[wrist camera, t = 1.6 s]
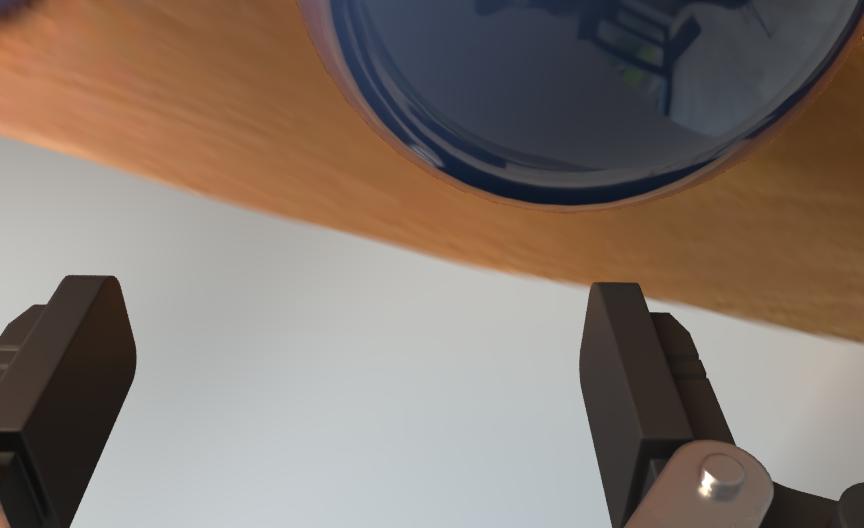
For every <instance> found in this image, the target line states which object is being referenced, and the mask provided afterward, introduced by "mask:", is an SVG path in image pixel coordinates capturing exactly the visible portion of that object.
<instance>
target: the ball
mask: <svg viewBox="0 0 864 528" xmlns="http://www.w3.org/2000/svg"><path fill="white" fill-rule="evenodd" d="M295 1H296V4H297V6H298V9H299V12H300V15H301V18H302V20H303V23H304V26H305V29H306V31H307V34H308V36H309V38H310V40H311V42H312V44H313V46H314V48H315V50H316V52H317V54H318V56H319V58H320V60H321V62H322V64H323V66H324V68H325V70H326V71H327V73H328V74H329V76H330V77H331V79H332V80H333V82H334V83H335V85H336V86H337V88H338V89H339V91H340V92H341V94H342V95H343V97H344V98H345V100H346V101H347V102H348V104H349V105H350V106H351V107H352V108H353V109H354V110H355V112H356V113H357V114H358V115H359V116H360V117H361V118H362V120H363V121H364V122H365V123H366V124H367V125H368V127H369V128H370V129H371V130H372V131H373V132H374V133H376V134H377V135H378V136H379V137H380V138H381V139H382V140H383V141H385V142H386V143H387V144H388V145H389V146H390V147H391V148H392V149H394V150H395V151H396V152H397V153H398V154H399V155H401V156H402V157H404V158H405V159H407V160H408V161H410V162H411V163H413V164H414V165H415V166H417V167H418V168H420V169H421V170H423V171H424V172H426V173H427V174H429V175H431V176H433V177H435V178H436V179H438V180H440V181H442V182H444V183H446V184H448V185H450V186H452V187H454V188H456V189H458V190H460V191H463V192H465V193H468V194H471V195H474V196H477V197H479V198H482V199H485V200H488V201H490V202H493V203H498V204H502V205H507V206H511V207H516V208H520V209H525V210H531V211H542V212H553V213H593V212H605V211H611V210H617V209H623V208H630V207H636V206H639V205H643V204H646V203H650V202H653V201H657V200H660V199H664V198H667V197H671V196H674V195H676V194H678V193H681V192H683V191H685V190H688V189H690V188H693V187H695V186H697V185H700V184H702V183H704V182H707V181H709V180H711V179H713V178H715V177H717V176H719V175H720V174H722V173H724V172H726V171H727V170H729V169H731V168H733V167H734V166H736V165H738V164H740V163H741V162H743V161H745V160H746V159H748V158H749V157H750V156H752V155H753V154H755V153H756V152H757V151H759V150H760V149H761V148H763V147H764V146H766V145H767V144H768V143H770V142H771V141H772V140H774V139H775V138H776V137H778V136H779V135H780V134H781V133H782V132H783V131H784V130H785V129H786V128H787V127H789V126H790V125H791V124H792V123H793V122H794V121H795V120H796V119H797V118H798V117H799V116H800V115H802V114H803V113H804V112H805V111H806V110H807V109H808V108H809V107H810V106H811V104H812V103H813V102H814V101H815V100H816V99H817V97H818V96H819V95H820V94H821V93H822V92H823V90H824V89H825V88H826V87H827V86H828V85H829V83H830V82H831V81H832V80H833V79H834V78H835V76H836V75H837V73H838V72H839V70H840V69H841V67H842V66H843V64H844V63H845V62H846V60H847V59H848V57H849V56H850V54H851V53H852V51H853V50H854V48H855V47H856V45H857V44H858V42H859V41H860V39H861V37H862V35H863V33H864V0H295Z"/></svg>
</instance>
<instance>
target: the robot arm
mask: <svg viewBox="0 0 864 528" xmlns="http://www.w3.org/2000/svg"><path fill="white" fill-rule="evenodd" d="M579 362H580V363H579V367H580V368H579V371H580V383H581V389H582V393H583V398H584V402H585V407H586V411H587V416H588V421H589V425H590V430H591V434H592V438H593V443H594V448H595V452H596V457H597V461H598V466H599V470H600V474H601V479H602V484H603V488H604V492H605V497H606V501H607V506H608V510H609V514H610V520H611V524H612V528H864V482H863V483H858V484H855V485H853V486H851V487H849V488H848V489H846V490H845V491H844V492H843V494H842V495H841V497H840V500H839V501H834V500H831V499H827V498H823V497H820V496H816V495H812V494H808V493H805V492H801V491H797V490H794V489H791V488H787V487H785V486H782V485H780V484H778V483H775V482H774V481H772V480H771V477H770V475H769V473H768V472H767V470H766V468H765V467H764V466H763V465H762V464H761V463H760V462H759V461H758V460H757V459H756V458H755V457H754V456H752V455H751V454H749V453H748V452H747V451H745V450H743V449H741V448H739V447H737V446H736V444H735V442H734V439H733V437H732V434H731V432H730V430H729V427H728V425H727V423H726V420H725V418H724V415H723V413H722V410H721V408H720V405H719V403H718V401H717V398H716V396H715V393H714V391H713V389H712V386H711V384H710V381H709V379H708V378H706V371H705V369H704V367H703V364H702V362H701V360H699V354H698V352H697V350H696V348H695V345H694V342H693V340H692V338H691V335H690V333H689V332H688V331H687V330H686V329H685V328H684V327H683V326H682V325H681V324H680V323H679V322H678V321H677V320H676V319H675V318H674V317H673V316H672V315H671V314H670V313H659V312H658V313H657V312H649V310H648V307H647V304H646V302H645V299H644V296H643V293H642V291H641V288H640V286H639V284H638V283H616V282H594V283H593V284H592V286H591V289H590V293H589V299H588V306H587V312H586V318H585V324H584V331H583V338H582V343H581V349H580V361H579ZM135 370H136V346H135V341H134V337H133V333H132V330H131V325H130V322H129V318H128V314H127V310H126V306H125V302H124V298H123V294H122V290H121V286H120V284H119V281H118V280H117V278H116V277H115V276H96V275H95V276H94V275H68V276H66V277H65V278H64V279H63V280H62V281H61V283H60V285H59V286H58V288H57V289H56V291H55V292H54V294H53V296H52V297H51V299H50V300H49V302H48V304H47V305H33V306H32V307H30V308H29V309H28V310H26V311H25V312H24V313H22V314H21V315H20V316H18V317H17V318H16V319H15V320H13V321H12V322H11V323H10V324H8V326H7V327H6V329H5V330H4V331H3V333H2V334H1V336H0V528H70V525H71V523H72V520H73V518H74V516H75V514H76V511H77V509H78V507H79V504H80V502H81V500H82V498H83V495H84V493H85V491H86V488H87V486H88V484H89V481H90V479H91V477H92V474H93V472H94V470H95V468H96V465H97V463H98V461H99V458H100V456H101V454H102V451H103V449H104V447H105V444H106V442H107V440H108V438H109V435H110V433H111V430H112V428H113V426H114V423H115V421H116V419H117V417H118V414H119V412H120V410H121V407H122V405H123V403H124V401H125V398H126V396H127V394H128V391H129V389H130V387H131V384H132V382H133V379H134V375H135Z"/></svg>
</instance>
